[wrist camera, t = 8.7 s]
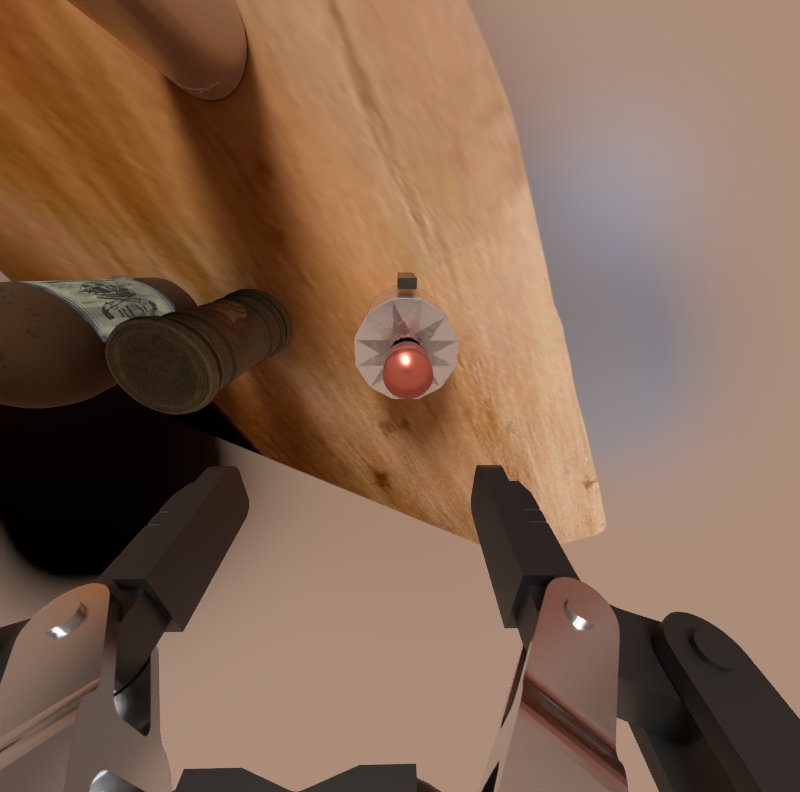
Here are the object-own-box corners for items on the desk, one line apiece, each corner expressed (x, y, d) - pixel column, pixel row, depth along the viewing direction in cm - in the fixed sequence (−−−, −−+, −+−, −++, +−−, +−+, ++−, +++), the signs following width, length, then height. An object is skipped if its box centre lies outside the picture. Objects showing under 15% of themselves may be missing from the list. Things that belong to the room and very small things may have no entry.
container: (300, 348, 41) (236, 410, 24) (241, 359, 41) (140, 425, 25) (277, 282, 37) (183, 304, 20) (212, 295, 37) (70, 325, 21)
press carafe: (364, 271, 36) (349, 278, 25) (444, 272, 36) (466, 280, 25) (368, 359, 41) (356, 399, 30) (437, 360, 41) (453, 400, 30)
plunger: (376, 298, 36) (360, 330, 21) (432, 299, 36) (458, 331, 21) (377, 353, 39) (364, 415, 24) (429, 353, 39) (449, 416, 24)
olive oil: (187, 366, 42) (-57, 496, 19) (112, 317, 38) (-287, 403, 16) (222, 312, 38) (-27, 393, 16) (142, 252, 35) (-314, 248, 13)
